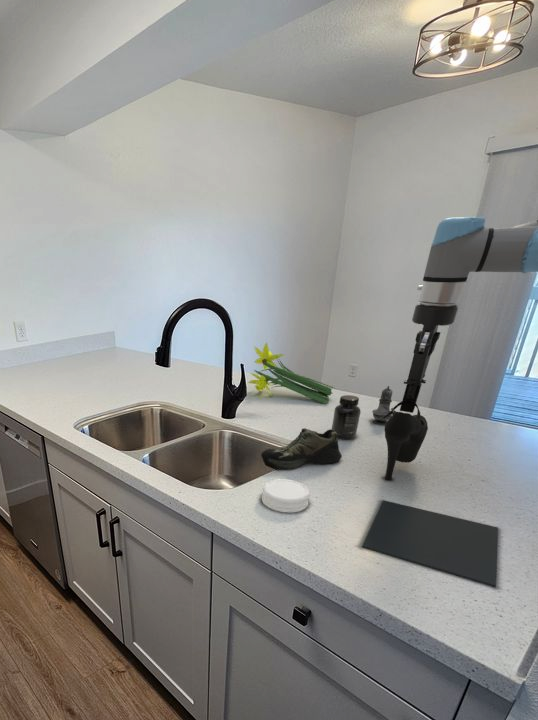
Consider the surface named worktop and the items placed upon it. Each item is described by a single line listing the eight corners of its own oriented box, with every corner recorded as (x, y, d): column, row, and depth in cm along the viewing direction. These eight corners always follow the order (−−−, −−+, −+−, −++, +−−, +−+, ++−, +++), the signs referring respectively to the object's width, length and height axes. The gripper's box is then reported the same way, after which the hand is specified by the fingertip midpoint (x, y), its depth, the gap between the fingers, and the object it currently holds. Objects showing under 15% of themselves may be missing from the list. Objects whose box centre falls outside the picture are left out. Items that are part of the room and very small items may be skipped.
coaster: (297, 518, 92) (299, 504, 90) (253, 504, 98) (255, 491, 96) (314, 499, 99) (316, 485, 97) (273, 487, 105) (274, 474, 103)
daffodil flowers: (316, 412, 151) (230, 375, 167) (319, 421, 165) (239, 386, 180) (342, 369, 149) (252, 335, 164) (343, 381, 162) (260, 349, 178)
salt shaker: (365, 421, 139) (373, 384, 134) (380, 418, 141) (388, 382, 135) (380, 427, 134) (388, 389, 129) (395, 424, 136) (404, 386, 130)
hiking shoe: (254, 459, 119) (256, 428, 114) (327, 450, 121) (332, 419, 117) (267, 473, 111) (270, 440, 107) (345, 463, 114) (351, 430, 109)
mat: (497, 529, 85) (497, 527, 84) (494, 588, 71) (495, 585, 71) (382, 502, 96) (383, 500, 96) (361, 548, 82) (362, 545, 82)
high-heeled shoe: (429, 441, 110) (444, 373, 97) (402, 490, 101) (414, 423, 88) (394, 434, 114) (404, 368, 101) (366, 480, 106) (373, 415, 93)
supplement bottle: (358, 435, 130) (366, 396, 124) (351, 442, 125) (358, 402, 120) (334, 430, 134) (341, 392, 129) (327, 437, 129) (333, 398, 124)
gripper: (421, 298, 96) (394, 400, 108) (411, 306, 88) (382, 416, 99) (462, 300, 92) (429, 406, 104) (456, 308, 84) (420, 422, 95)
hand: (406, 410), depth 101 cm, fingers closed
